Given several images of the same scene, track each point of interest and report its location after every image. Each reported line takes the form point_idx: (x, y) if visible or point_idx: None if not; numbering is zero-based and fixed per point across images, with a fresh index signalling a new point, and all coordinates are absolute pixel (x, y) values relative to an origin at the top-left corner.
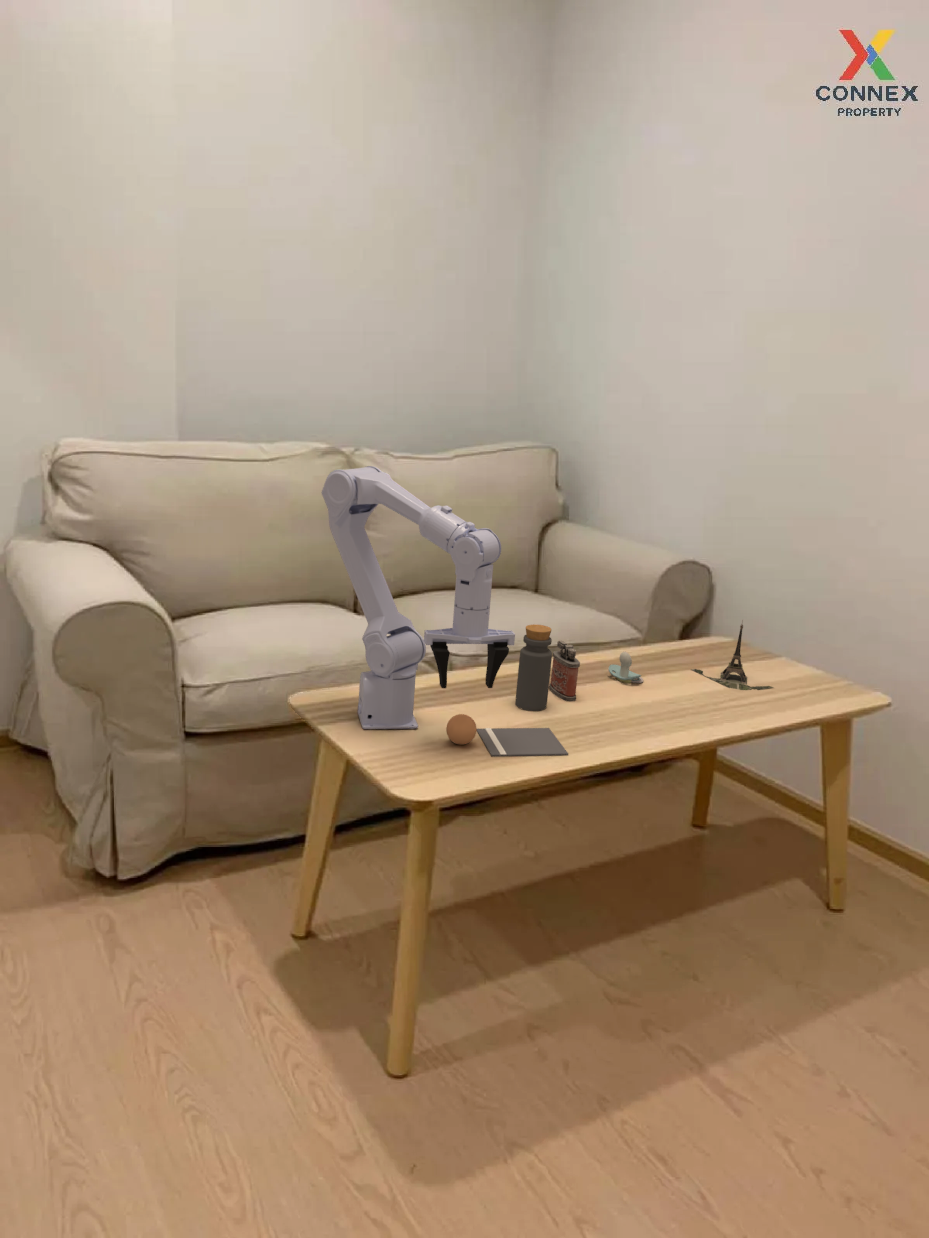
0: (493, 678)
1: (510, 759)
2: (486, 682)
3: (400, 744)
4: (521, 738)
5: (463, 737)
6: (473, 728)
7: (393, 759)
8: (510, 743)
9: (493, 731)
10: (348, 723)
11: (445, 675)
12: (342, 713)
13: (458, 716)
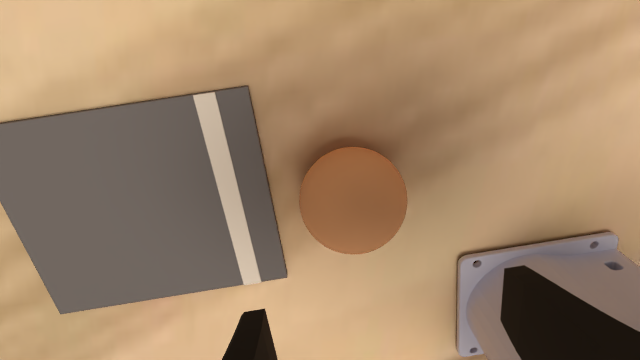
0: (233, 352)
1: (179, 68)
2: (273, 357)
3: (531, 147)
4: (144, 229)
5: (348, 148)
6: (315, 180)
7: (584, 24)
8: (180, 188)
9: (235, 265)
10: None
11: (571, 312)
12: None
13: (378, 218)
